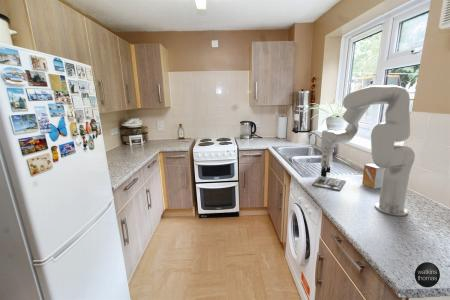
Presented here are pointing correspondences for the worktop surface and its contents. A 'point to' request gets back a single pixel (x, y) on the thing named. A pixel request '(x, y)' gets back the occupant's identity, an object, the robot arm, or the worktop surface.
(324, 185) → the switch unit
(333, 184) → the switch
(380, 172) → the small box
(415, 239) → the worktop surface
